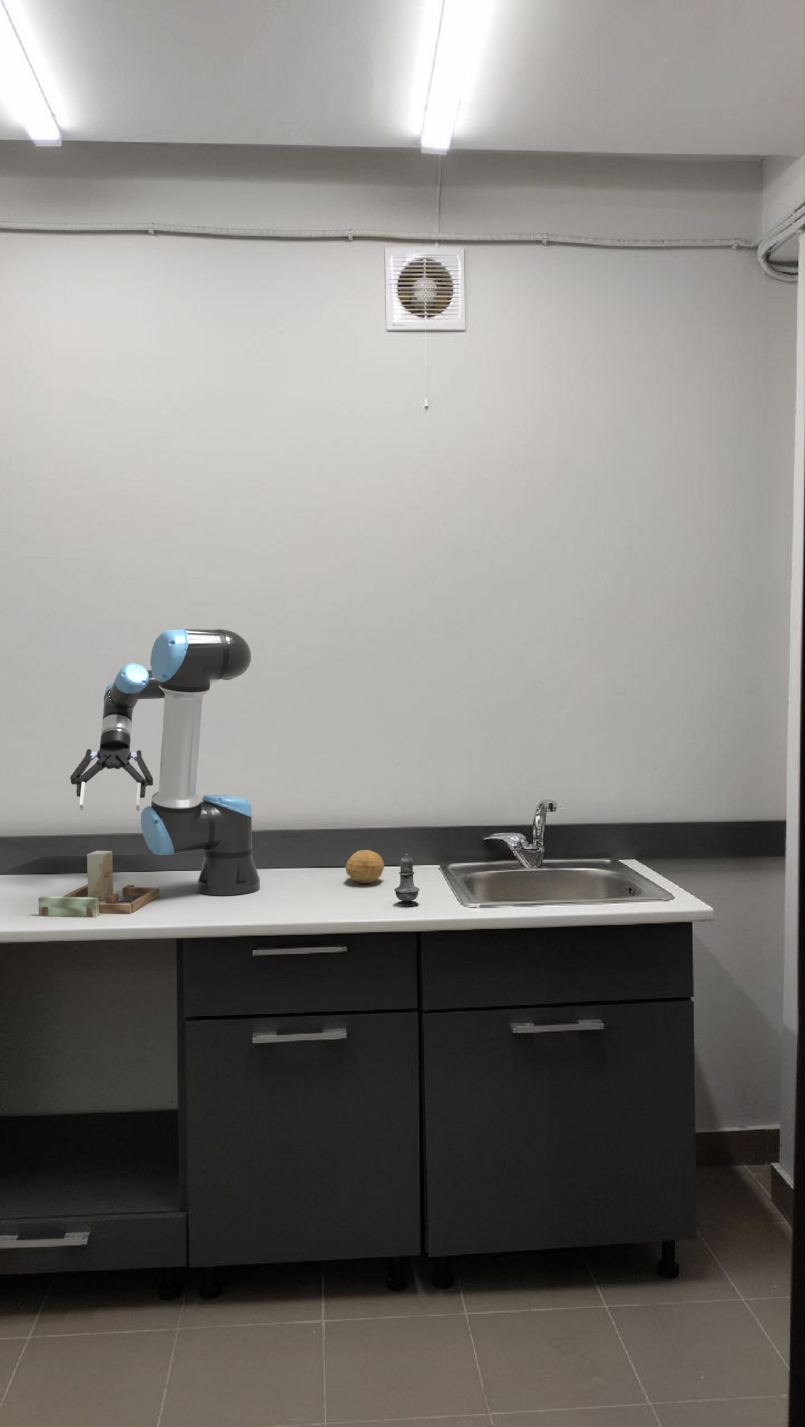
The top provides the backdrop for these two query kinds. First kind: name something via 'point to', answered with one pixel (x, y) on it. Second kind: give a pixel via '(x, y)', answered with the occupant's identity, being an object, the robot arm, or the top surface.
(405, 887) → the salt shaker
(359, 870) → the potato
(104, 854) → the box
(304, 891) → the top surface
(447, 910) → the top surface
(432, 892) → the top surface
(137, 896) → the brown green flat frame
